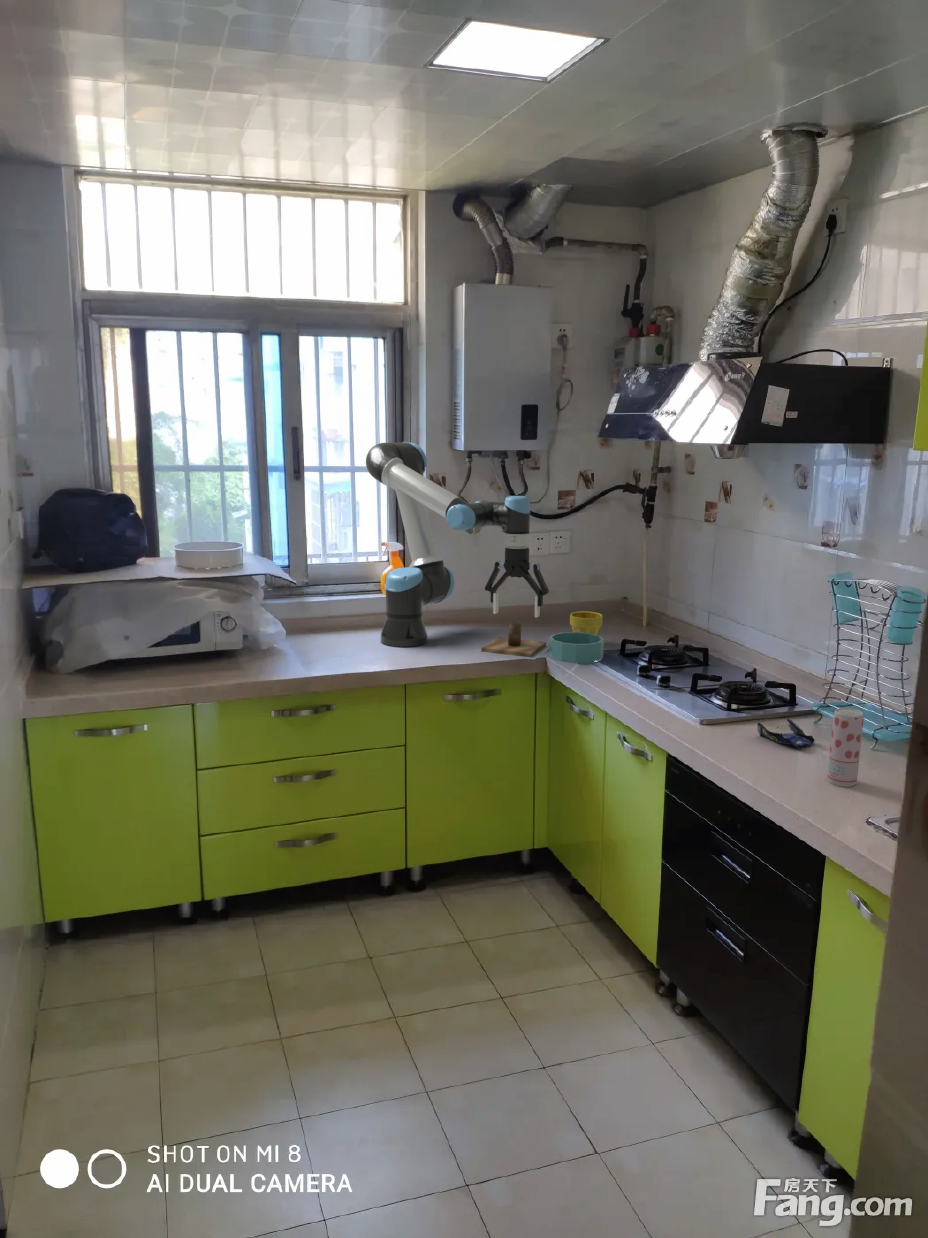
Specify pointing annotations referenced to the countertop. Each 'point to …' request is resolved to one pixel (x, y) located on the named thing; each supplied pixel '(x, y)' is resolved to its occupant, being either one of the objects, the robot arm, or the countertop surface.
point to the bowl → (576, 647)
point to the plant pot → (586, 622)
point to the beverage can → (845, 747)
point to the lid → (514, 643)
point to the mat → (514, 655)
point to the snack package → (788, 735)
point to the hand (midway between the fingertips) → (516, 614)
